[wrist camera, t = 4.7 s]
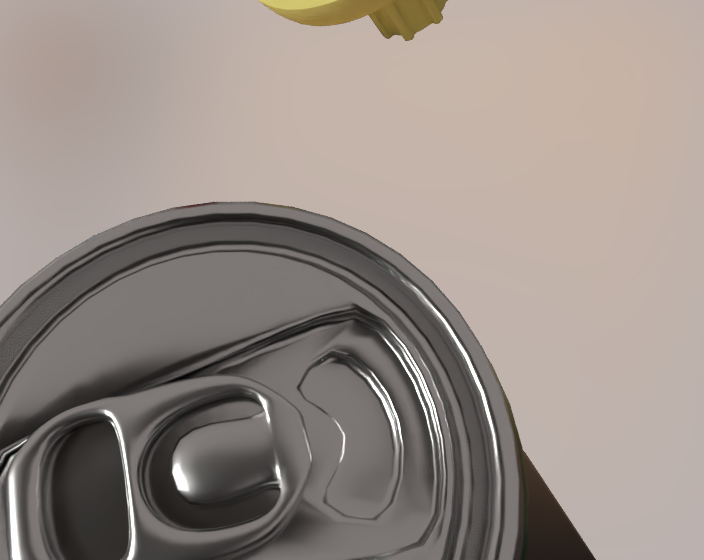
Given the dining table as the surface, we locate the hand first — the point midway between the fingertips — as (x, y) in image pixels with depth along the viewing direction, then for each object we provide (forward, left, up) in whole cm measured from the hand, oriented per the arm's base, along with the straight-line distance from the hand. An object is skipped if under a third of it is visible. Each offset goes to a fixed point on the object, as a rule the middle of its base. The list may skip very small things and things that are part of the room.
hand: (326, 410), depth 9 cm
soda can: (-2, 0, -8) cm, 8 cm away
